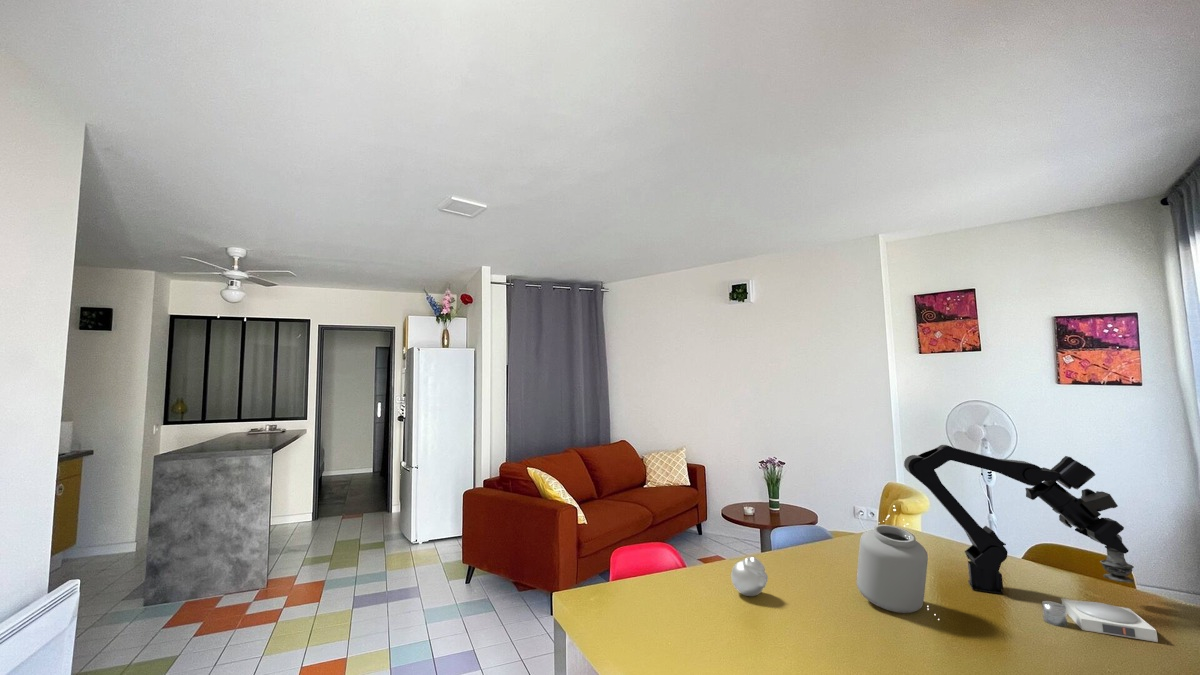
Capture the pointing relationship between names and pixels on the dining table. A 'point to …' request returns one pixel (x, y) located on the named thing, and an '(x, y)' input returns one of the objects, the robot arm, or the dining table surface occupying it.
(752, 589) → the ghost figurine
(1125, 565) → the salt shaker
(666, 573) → the dining table surface
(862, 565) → the jar
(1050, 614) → the spacer
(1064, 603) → the scale
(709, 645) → the dining table surface
